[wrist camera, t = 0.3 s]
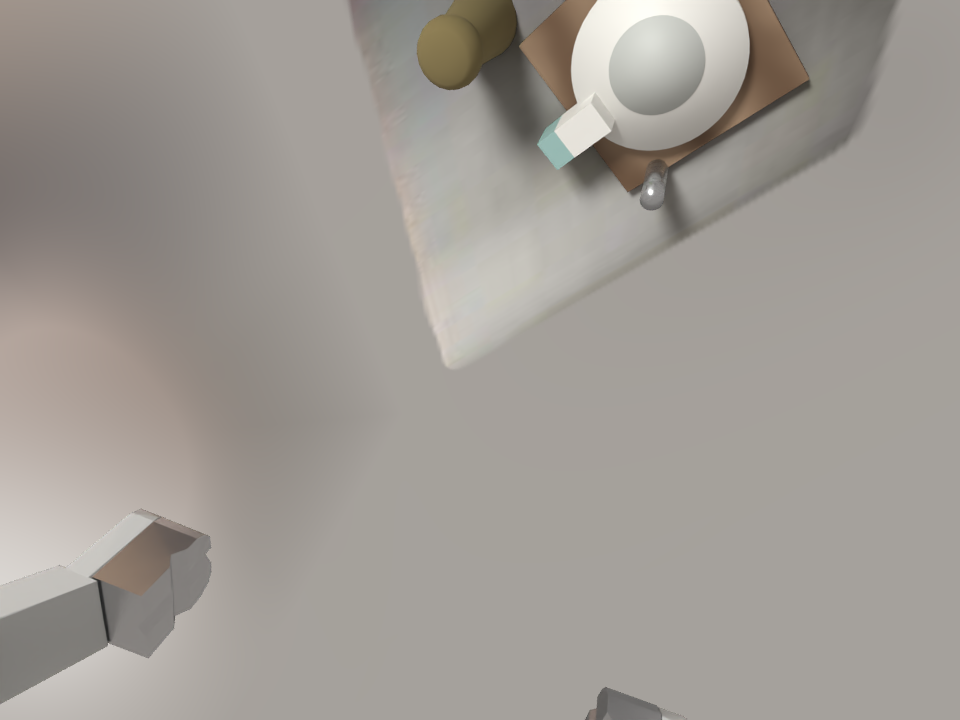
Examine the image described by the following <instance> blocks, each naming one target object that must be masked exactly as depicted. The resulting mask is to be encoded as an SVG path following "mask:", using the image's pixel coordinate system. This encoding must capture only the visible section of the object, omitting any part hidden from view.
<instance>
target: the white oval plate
mask: <svg viewBox="0 0 960 720" xmlns="http://www.w3.org/2000/svg"><path fill="white" fill-rule="evenodd" d="M749 53H750V40H749V32H748V25H747V20H746V17H745V14H744V11H743V8H742V6H741V4H740V2H739V0H597V2H596V3H595V4H594V6H593V7H592V8H591V10H590V11H589V13H588V15H587V17H586V18H585V20H584V22H583V23H582V26H581V28H580V30H579V32H578V35H577V38H576V41H575V45H574V49H573V54H572V63H571V77H572V85H573V91H574V94H575V97H576V101H577V104H576V105H574V106H573V107H572V108H570V109H569V110H568V111H567V112H565V113H564V114H563V115H562V116H560V117H559V118H558V119H557V120H555V121H554V122H553V123H552V124H550V125H549V126H548V127H547V128H546V129H545V130H544V132H543V134H542V136H541V138H540V140H539V142H538V144H537V145H538V146H539V148H540V149H541V150H542V151H543V153H544V154H545V155H546V156H547V158H548V159H549V160H550V161H551V163H552V164H553V165H554V166H555V168H556V169H557V170H558V169H559V168H561V167H562V166H564V165H565V164H566V163H568V162H569V161H571V160H572V159H573V158H575V157H576V156H578V155H579V154H580V153H582V152H583V151H584V150H586V149H587V148H589V147H590V146H591V145H593V144H594V143H596V142H597V141H598V140H600V139H601V138H603V137H605V138H607V139H608V140H610V141H612V142H614V143H616V144H618V145H621V146H624V147H626V148H631V149H635V150H645V151H652V150H662V149H668V148H672V147H675V146H679V145H681V144H684V143H686V142H689V141H691V140H692V139H694V138H696V137H698V136H699V135H701V134H702V133H704V132H705V131H707V130H708V129H709V128H710V127H712V126H713V125H714V124H715V123H716V122H717V121H718V120H719V119H720V118H721V117H722V116H723V115H724V113H725V112H726V111H727V110H728V108H729V107H730V105H731V104H732V103H733V101H734V99H735V98H736V96H737V94H738V92H739V90H740V88H741V85H742V83H743V80H744V78H745V74H746V70H747V67H748V60H749Z"/></svg>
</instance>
